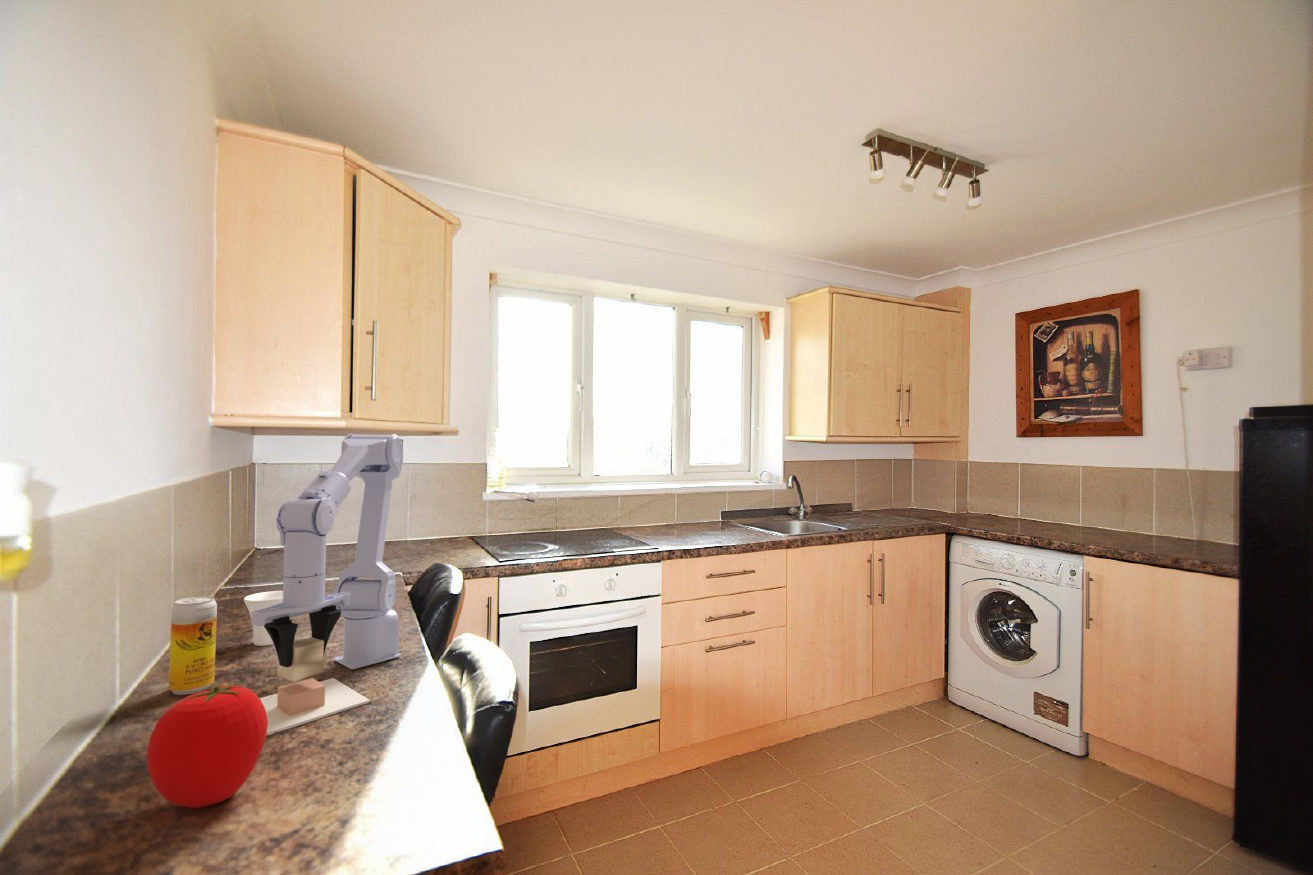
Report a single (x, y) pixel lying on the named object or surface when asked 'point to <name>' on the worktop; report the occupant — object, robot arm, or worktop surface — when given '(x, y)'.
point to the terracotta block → (301, 696)
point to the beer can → (192, 644)
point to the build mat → (335, 702)
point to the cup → (258, 603)
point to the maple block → (304, 659)
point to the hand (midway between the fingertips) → (302, 660)
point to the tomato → (207, 745)
